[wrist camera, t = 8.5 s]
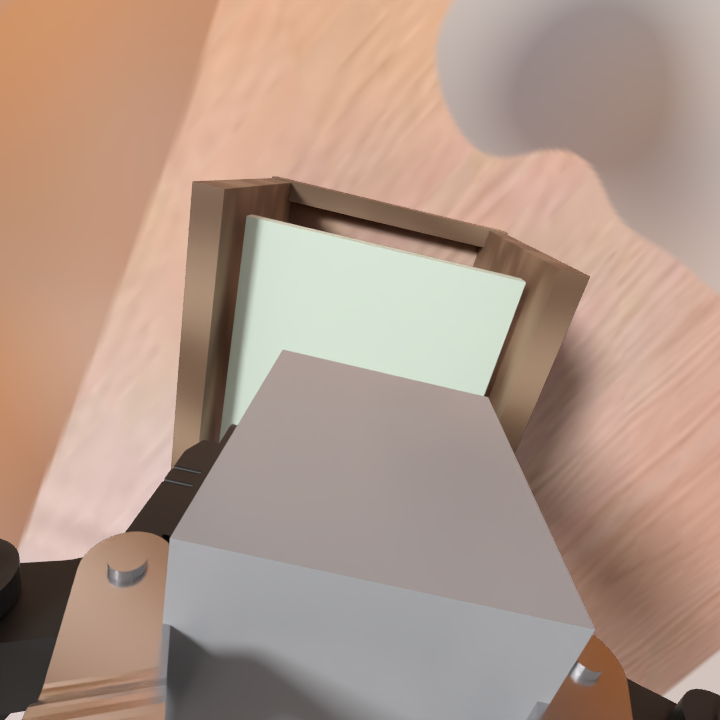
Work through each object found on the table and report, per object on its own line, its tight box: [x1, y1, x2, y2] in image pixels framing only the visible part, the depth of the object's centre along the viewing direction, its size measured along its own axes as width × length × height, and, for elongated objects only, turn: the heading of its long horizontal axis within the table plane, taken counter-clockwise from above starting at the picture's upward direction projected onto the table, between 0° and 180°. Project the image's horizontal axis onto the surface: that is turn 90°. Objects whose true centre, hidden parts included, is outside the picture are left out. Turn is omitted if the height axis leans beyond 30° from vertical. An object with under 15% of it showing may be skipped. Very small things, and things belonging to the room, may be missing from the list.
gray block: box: [162, 350, 595, 720], centre depth 9 cm, size 5×5×6 cm
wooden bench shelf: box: [171, 177, 590, 469], centre depth 27 cm, size 16×15×14 cm
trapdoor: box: [219, 215, 526, 443], centre depth 25 cm, size 22×12×4 cm, turn 167°
